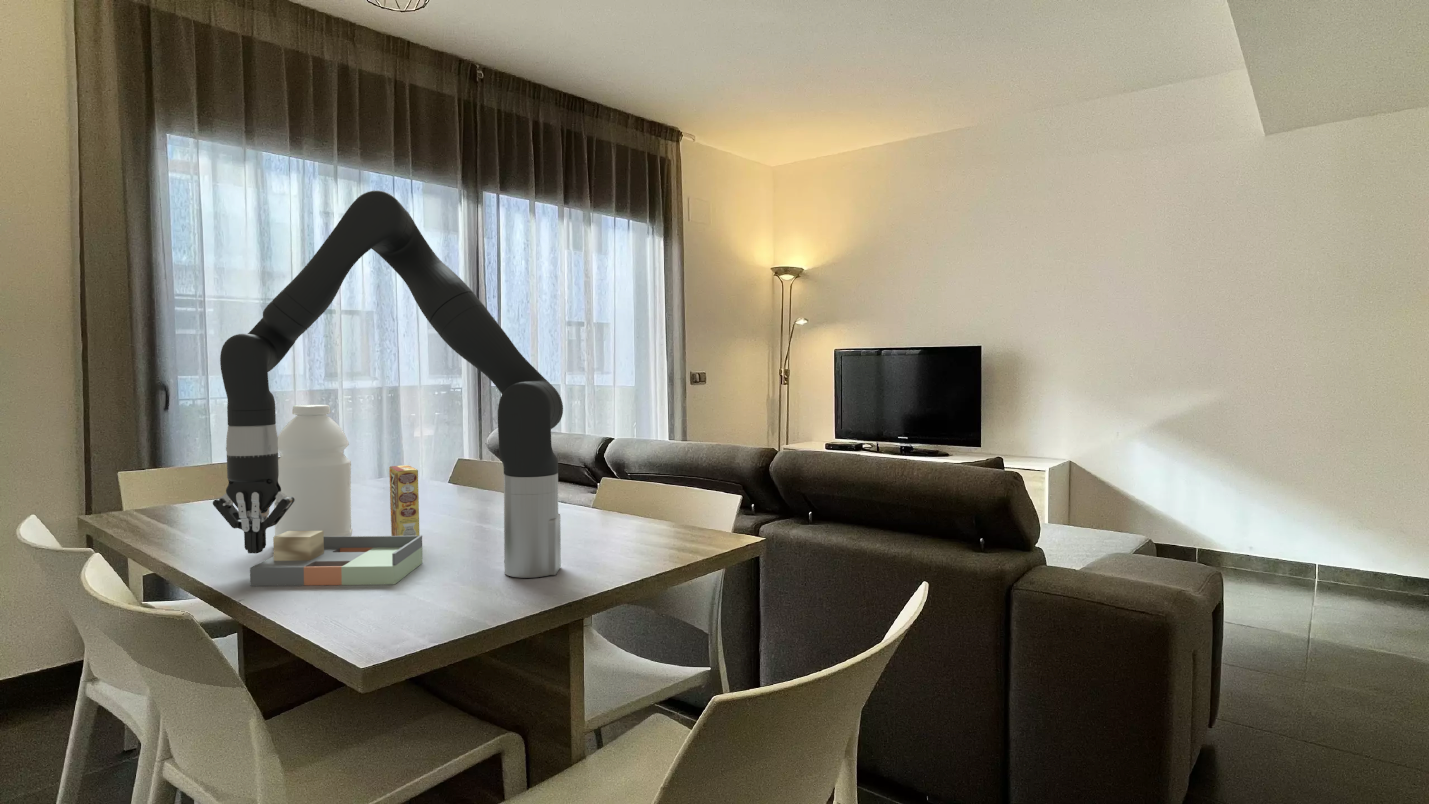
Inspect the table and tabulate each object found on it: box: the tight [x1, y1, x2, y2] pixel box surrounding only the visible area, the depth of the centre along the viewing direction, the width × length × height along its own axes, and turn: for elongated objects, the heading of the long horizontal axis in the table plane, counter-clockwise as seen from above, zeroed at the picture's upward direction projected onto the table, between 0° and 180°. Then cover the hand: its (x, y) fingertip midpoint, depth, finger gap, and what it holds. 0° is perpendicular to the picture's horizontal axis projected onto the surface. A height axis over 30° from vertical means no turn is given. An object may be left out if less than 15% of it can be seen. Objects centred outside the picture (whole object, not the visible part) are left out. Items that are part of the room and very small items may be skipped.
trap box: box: [249, 535, 423, 587], centre depth 132 cm, size 23×14×5 cm, turn 93°
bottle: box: [273, 404, 353, 537], centre depth 155 cm, size 14×14×28 cm
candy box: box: [388, 464, 421, 536], centre depth 156 cm, size 9×4×15 cm, turn 33°
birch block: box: [272, 531, 324, 561], centre depth 131 cm, size 6×5×4 cm
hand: (255, 552), depth 131 cm, fingers closed
